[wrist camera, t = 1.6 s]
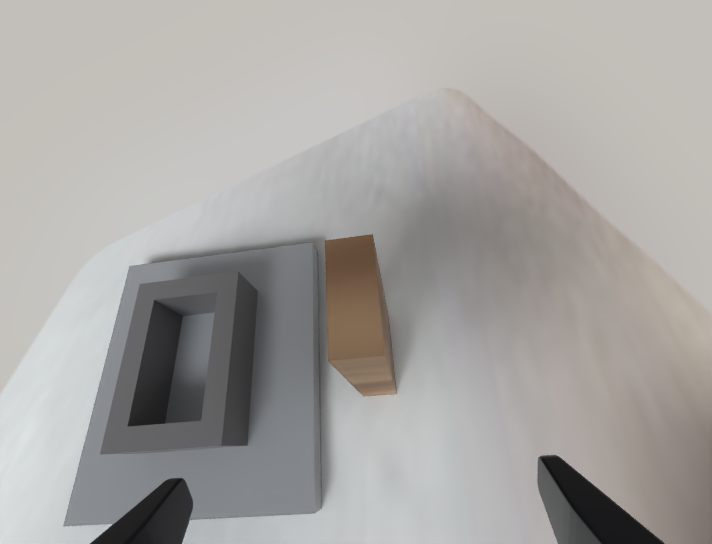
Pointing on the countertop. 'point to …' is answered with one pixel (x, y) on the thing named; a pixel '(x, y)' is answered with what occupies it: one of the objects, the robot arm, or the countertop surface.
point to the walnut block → (358, 316)
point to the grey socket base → (209, 389)
